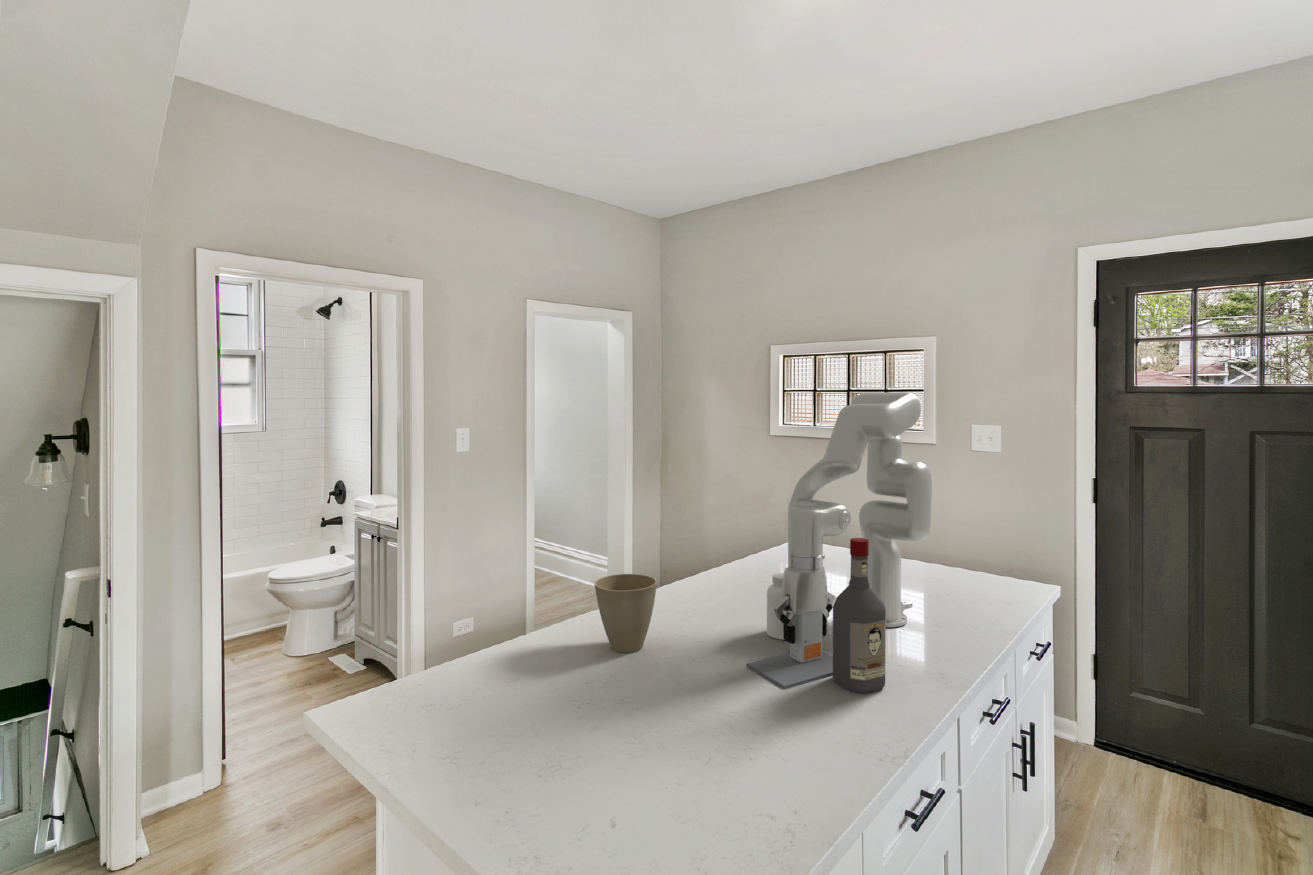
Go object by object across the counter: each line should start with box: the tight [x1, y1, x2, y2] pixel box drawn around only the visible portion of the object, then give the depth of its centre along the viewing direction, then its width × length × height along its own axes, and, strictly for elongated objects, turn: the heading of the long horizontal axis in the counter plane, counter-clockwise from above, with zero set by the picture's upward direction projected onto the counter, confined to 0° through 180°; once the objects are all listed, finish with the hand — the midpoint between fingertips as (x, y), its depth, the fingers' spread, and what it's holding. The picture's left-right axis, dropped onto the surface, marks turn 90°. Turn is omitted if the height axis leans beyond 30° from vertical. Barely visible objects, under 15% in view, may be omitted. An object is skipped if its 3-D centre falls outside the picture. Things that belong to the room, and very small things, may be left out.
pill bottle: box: [766, 572, 791, 641], centre depth 159 cm, size 8×8×15 cm
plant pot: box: [594, 573, 658, 653], centre depth 153 cm, size 15×15×16 cm
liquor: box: [832, 537, 887, 694], centre depth 131 cm, size 9×9×30 cm
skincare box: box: [789, 610, 823, 663], centre depth 144 cm, size 6×4×12 cm
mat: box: [746, 650, 833, 690], centre depth 140 cm, size 19×13×1 cm
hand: (805, 637), depth 143 cm, fingers open, 8 cm apart
